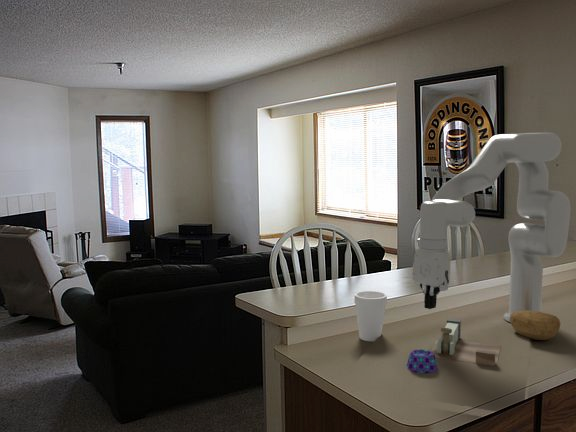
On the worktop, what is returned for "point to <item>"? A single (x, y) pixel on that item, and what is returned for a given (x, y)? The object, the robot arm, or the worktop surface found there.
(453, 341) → the leg
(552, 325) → the potato
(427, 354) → the purple spotted dome
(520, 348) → the worktop surface
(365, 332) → the foam cup
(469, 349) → the stool seat
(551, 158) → the robot arm
